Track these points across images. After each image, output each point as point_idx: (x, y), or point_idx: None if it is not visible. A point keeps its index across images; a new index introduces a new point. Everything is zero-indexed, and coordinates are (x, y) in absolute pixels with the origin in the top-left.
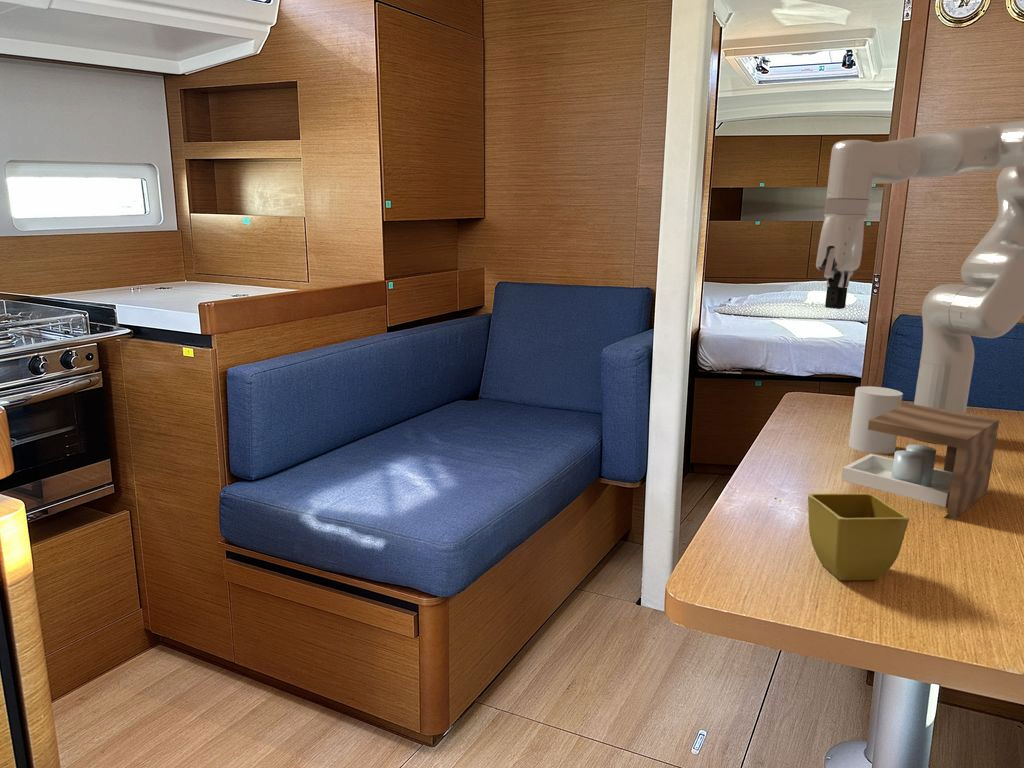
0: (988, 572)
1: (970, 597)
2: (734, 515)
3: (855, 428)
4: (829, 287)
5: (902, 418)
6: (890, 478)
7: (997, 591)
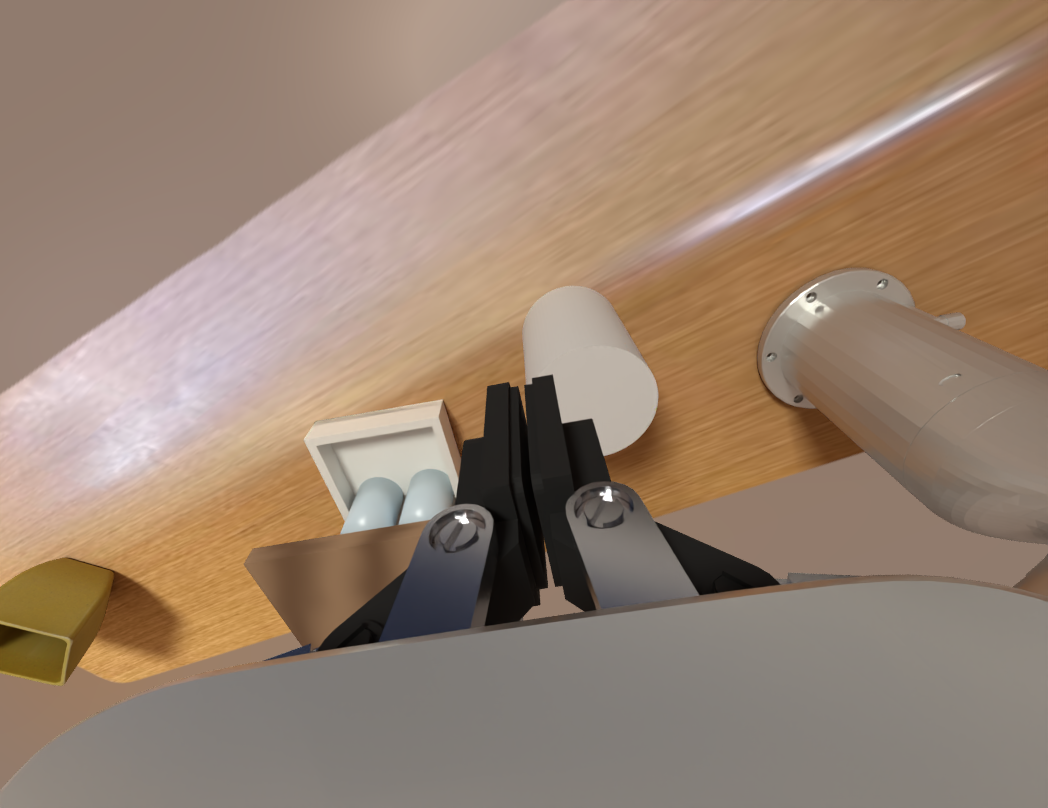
0: (255, 625)
1: (185, 637)
2: (14, 424)
3: (528, 338)
4: (487, 502)
5: (333, 580)
6: (340, 503)
7: (224, 641)
